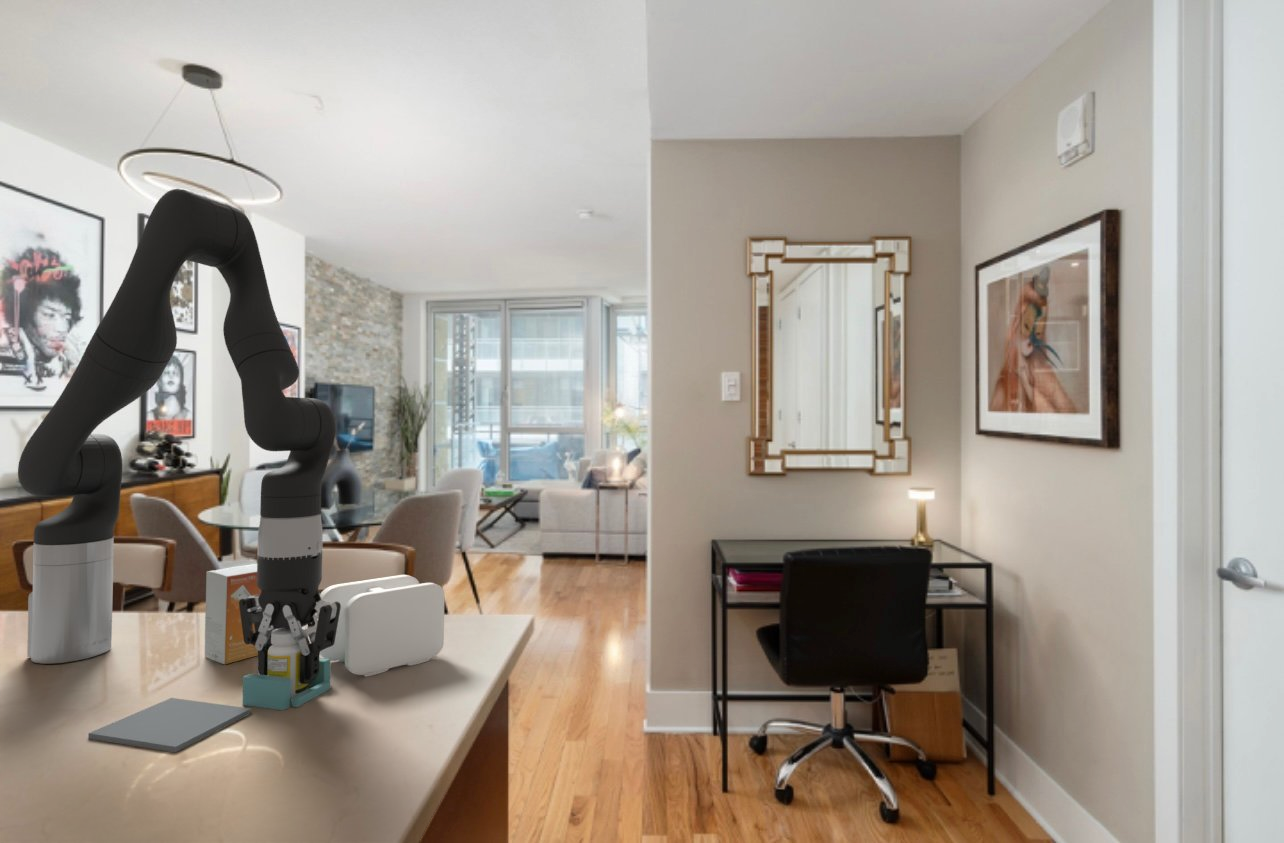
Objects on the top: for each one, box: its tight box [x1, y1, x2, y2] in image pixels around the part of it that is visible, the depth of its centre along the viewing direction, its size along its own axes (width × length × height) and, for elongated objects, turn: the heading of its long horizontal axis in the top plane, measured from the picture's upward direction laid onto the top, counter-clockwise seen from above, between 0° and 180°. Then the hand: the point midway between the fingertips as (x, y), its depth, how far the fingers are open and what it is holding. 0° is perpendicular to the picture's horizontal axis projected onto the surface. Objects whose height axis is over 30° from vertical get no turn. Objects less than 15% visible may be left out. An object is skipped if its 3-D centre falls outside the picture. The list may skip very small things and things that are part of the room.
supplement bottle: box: [268, 626, 310, 701], centre depth 87 cm, size 5×5×8 cm
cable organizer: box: [319, 574, 445, 677], centre depth 99 cm, size 15×11×12 cm
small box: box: [204, 562, 264, 665], centre depth 102 cm, size 8×6×13 cm
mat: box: [88, 697, 252, 753], centre depth 77 cm, size 12×10×1 cm
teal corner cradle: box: [242, 657, 331, 711], centre depth 87 cm, size 8×8×4 cm
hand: (288, 678), depth 87 cm, fingers open, 5 cm apart
